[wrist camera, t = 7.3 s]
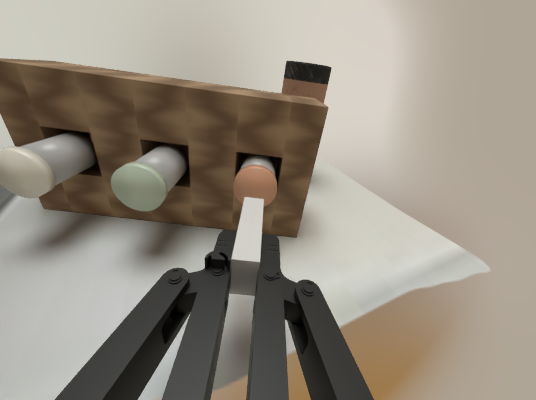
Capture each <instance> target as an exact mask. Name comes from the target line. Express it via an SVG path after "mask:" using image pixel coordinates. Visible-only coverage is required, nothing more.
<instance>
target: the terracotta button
mask: <svg viewBox="0 0 536 400" xmlns="http://www.w3.org/2000/svg"><path fill="white" fill-rule="evenodd" d="M233 192H234V195H235V197H236V198H237V199H238V201H239V202H241V203H242V204H243V202H244V197H250V198H259V199H264V205H263V207H264V206H266V205H268V204H270V203H271V202H272V201H273V200H274V198H275V196H276V194H277V180H276V177H275V160H274V157H273V156H266V155H258V154H251V153H247V154H246V155H245V157H244V160H243V163H242V166H241V169H240V171H239V172H238V173H237V175H236V177H235V180H234V183H233Z"/></svg>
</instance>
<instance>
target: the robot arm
mask: <svg viewBox="0 0 536 400" xmlns="http://www.w3.org/2000/svg"><path fill="white" fill-rule="evenodd" d="M263 205H264V199H259V198H250V197H244V202H243V207H242V211H241V216H240V221H239V225H238V230H237V231H231V230H223V231H222V232H221V233H220V234H219V236H218V239H217V242H216V246H215V248H214V251H212V252H210V253H209V254H207V255H206V257H205V268H204V269H203V270H201V271H197V272H192V273H188V272H187V270H185V269H183V268H173V269H171V270H168V271H167V272H166V273H164V274H163V276H162V277H161V278H160V279H159V280H158V281H157V282H156V284H155V285H154V286H153V287H152V288H151V289H150V291H149V292H148V293H147V294H146V295H145V296H144V297H143V299H142V300H141V301H140V302H139V303H138V304H137V305H136V307H135V308H134V309H133V310H132V311H131V312H130V314H129V315H128V316H127V317H126V318H125V319H124V320H123V322H122V323H121V324H120V325H119V326H118V327H117V329H116V330H115V331H114V332H113V333H112V334H111V335H110V337H109V338H108V339H107V340H106V341H105V342H104V343H103V345H102V346H101V347H100V348H99V349H98V350H97V352H96V353H95V354H94V355H93V356H92V357H91V358H90V360H89V361H88V362H87V363H86V364H85V365H84V367H83V368H82V369H81V370H80V371H79V372H78V373H77V375H76V376H75V377H74V378H73V379H72V380H71V382H70V383H69V384H68V385H67V386H66V387H65V388H64V390H63V391H62V392H61V393H60V394H59V395H58V396H57V398H56V399H55V400H137V399H138V398H139V396H140V395H141V393H142V391H143V390H144V388H145V386H146V385H147V383H148V381H149V380H150V378H151V376H152V375H153V373H154V372H155V370H156V368H157V367H158V365H159V363H160V362H161V360H162V358H163V357H164V355H165V354H166V352H167V350H168V349H169V347H170V345H171V344H172V342H173V340H174V339H175V337H176V335H177V334H178V332H179V331H180V329H181V327H182V326H183V324H184V322H185V321H186V319H187V317H188V316H189V314H190V316H189V319H188V322H187V325H186V328H185V331H184V334H183V337H182V340H181V343H180V346H179V350H178V353H177V356H176V359H175V362H174V365H173V368H172V371H171V374H170V377H169V380H168V383H167V386H166V389H165V392H164V395H163V398H162V400H210V398H211V393H212V388H213V382H214V377H215V371H216V366H217V360H218V355H219V350H220V344H221V339H222V333H223V328H224V322H225V317H226V312H227V306H228V297H229V293H231V294H242V295H253V296H255V300H254V307H253V321H252V334H251V347H250V359H249V372H248V385H247V398H246V400H289V397H288V377H287V356H286V337H285V320H287V322H288V325H289V328H290V331H291V335H292V338H293V341H294V345H295V348H296V351H297V355H298V358H299V361H300V365H301V368H302V371H303V375H304V378H305V381H306V384H307V388H308V391H309V394H310V397H311V400H374V399H373V397H372V395H371V393H370V391H369V388H368V386H367V384H366V383H365V380H364V379H363V376H362V374H361V372H360V370H359V368H358V366H357V364H356V362H355V360H354V358H353V356H352V354H351V352H350V350H349V348H348V346H347V344H346V342H345V339H344V337H343V335H342V333H341V331H340V329H339V327H338V325H337V323H336V321H335V319H334V317H333V315H332V313H331V311H330V309H329V307H328V305H327V303H326V300H325V298H324V296H323V294H322V292H321V290H320V288H319V287H318V286H317V284H315V283H314V282H312V281H310V280H301V281H299V282H298V283H296V282H293V281H291V280H289V279H287V278H286V277H284V275H283V274H282V272H281V269H280V252H279V239H278V238H277V236H276V235H273V234H264V233H262V222H263ZM190 312H191V313H190Z"/></svg>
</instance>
